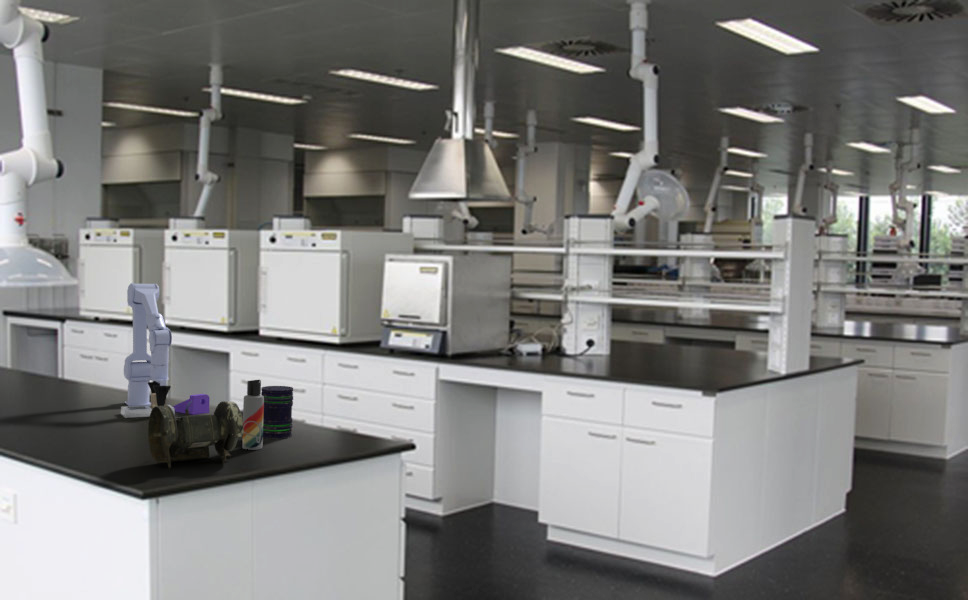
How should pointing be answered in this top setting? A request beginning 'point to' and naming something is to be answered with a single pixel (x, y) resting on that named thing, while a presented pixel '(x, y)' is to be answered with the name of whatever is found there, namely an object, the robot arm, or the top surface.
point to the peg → (154, 400)
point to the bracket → (194, 405)
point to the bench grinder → (193, 433)
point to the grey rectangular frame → (138, 411)
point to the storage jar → (277, 411)
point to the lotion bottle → (253, 416)
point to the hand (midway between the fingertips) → (158, 404)
